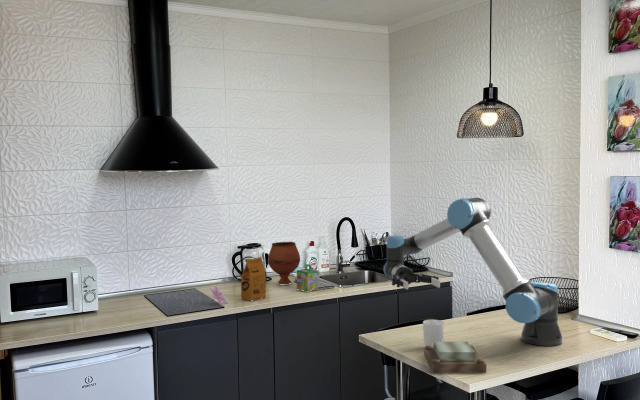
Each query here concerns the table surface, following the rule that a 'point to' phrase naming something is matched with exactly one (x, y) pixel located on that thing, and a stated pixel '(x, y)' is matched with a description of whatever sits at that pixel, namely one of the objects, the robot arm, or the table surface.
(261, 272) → the coffee package
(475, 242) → the robot arm
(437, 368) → the plinth
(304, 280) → the colorful lantern
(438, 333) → the white cup
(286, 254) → the goblet
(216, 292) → the lily
